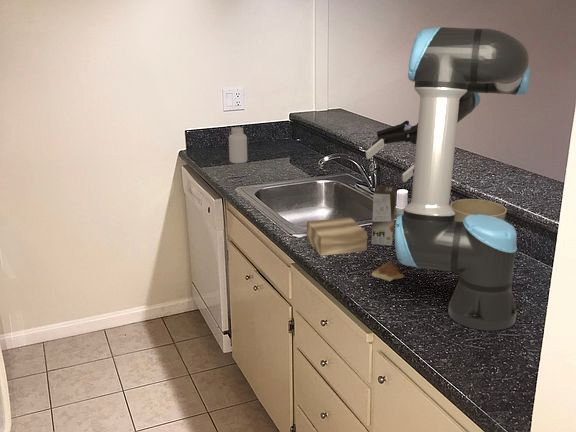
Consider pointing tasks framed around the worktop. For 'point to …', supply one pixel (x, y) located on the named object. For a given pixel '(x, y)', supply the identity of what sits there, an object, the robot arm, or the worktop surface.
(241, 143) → the pill bottle
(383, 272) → the shard
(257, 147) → the worktop surface
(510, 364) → the worktop surface
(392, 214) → the coffee box
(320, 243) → the maple block
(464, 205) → the plant pot
